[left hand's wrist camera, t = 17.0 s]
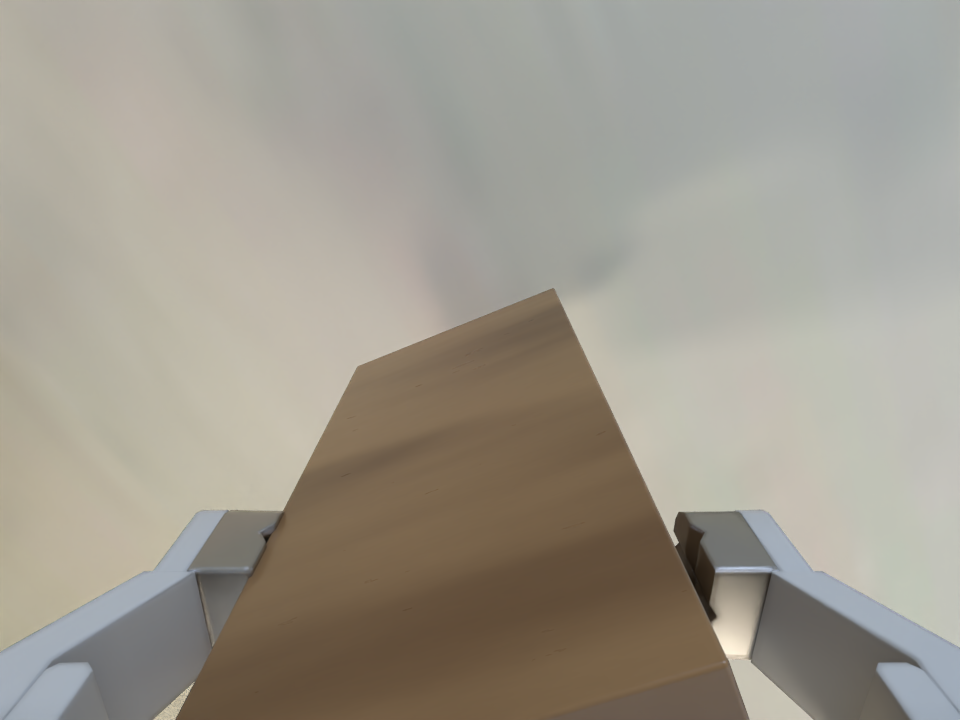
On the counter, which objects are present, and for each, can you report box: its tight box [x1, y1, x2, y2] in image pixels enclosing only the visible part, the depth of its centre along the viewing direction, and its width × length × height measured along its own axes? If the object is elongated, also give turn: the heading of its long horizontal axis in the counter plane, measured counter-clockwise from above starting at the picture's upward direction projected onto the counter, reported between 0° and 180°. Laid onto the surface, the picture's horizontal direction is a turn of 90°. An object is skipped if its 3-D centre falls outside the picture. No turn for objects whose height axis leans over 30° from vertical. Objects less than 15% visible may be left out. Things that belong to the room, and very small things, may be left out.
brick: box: [176, 288, 749, 720], centre depth 11 cm, size 4×6×12 cm
